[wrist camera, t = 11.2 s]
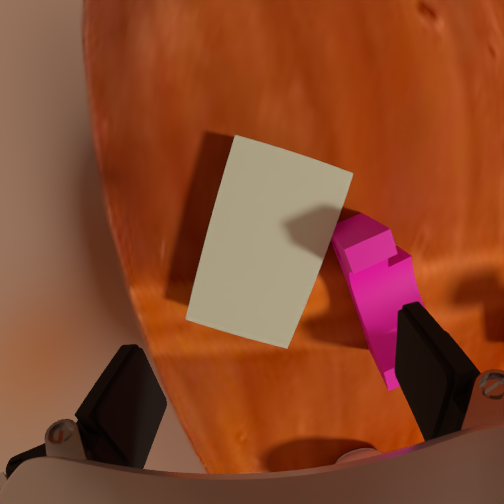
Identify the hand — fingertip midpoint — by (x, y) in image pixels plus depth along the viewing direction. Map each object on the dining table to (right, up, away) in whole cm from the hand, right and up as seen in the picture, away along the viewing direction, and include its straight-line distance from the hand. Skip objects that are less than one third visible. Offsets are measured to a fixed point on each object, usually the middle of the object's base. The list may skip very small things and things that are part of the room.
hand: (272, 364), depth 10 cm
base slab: (+1, +5, +19) cm, 19 cm away
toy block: (+12, +1, +19) cm, 23 cm away
